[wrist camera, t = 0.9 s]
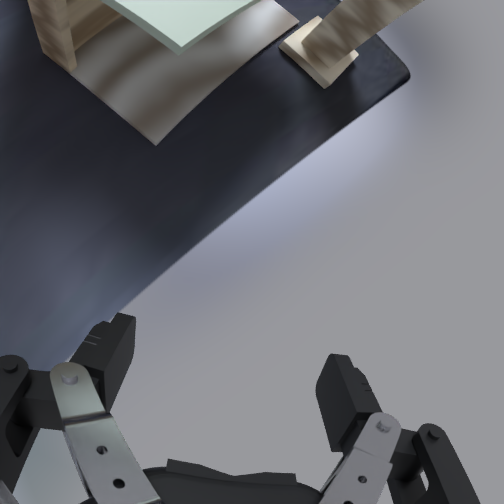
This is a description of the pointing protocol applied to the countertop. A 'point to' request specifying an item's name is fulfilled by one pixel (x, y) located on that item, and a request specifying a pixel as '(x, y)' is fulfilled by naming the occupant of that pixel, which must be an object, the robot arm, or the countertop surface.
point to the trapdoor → (179, 18)
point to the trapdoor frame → (149, 58)
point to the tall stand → (340, 35)
